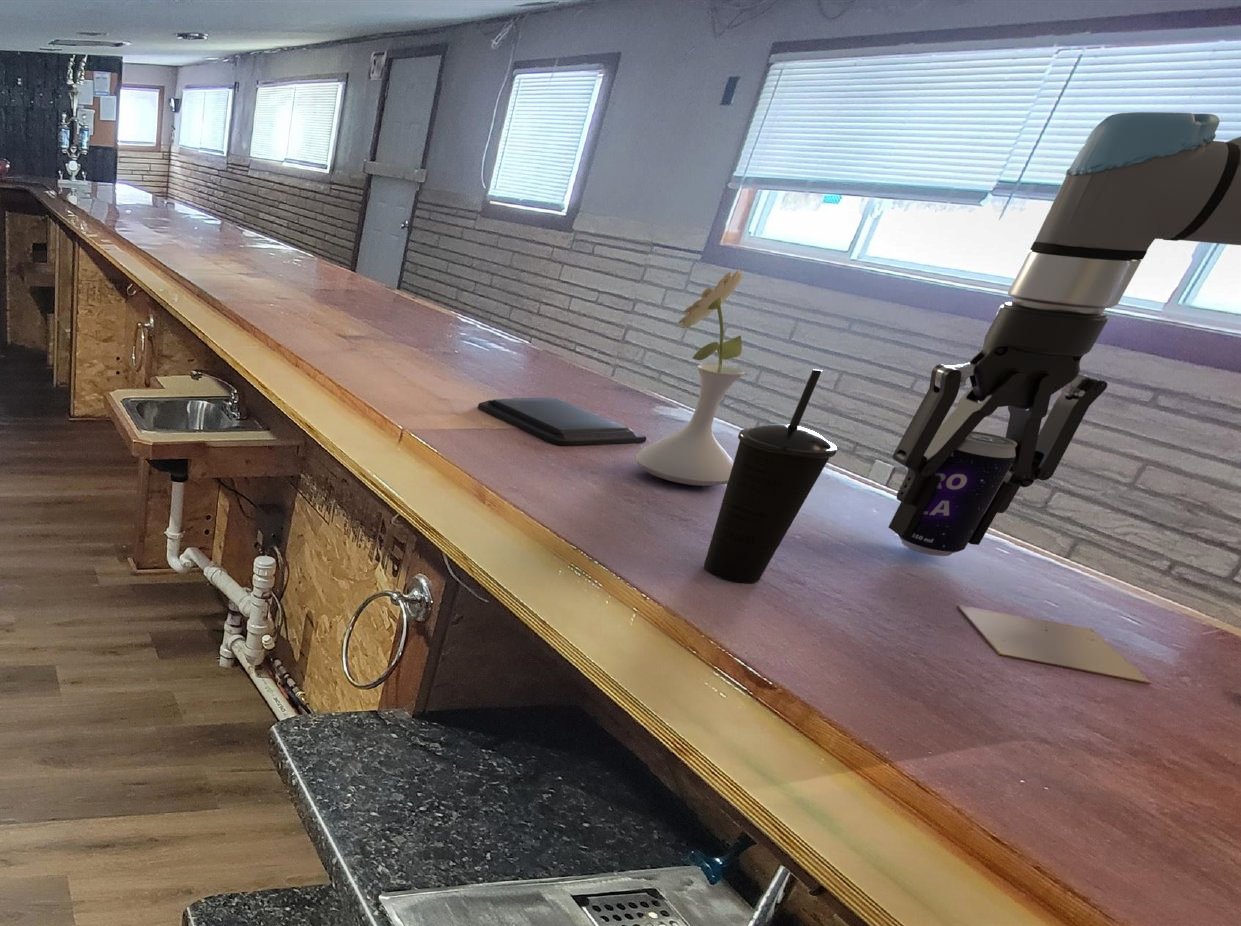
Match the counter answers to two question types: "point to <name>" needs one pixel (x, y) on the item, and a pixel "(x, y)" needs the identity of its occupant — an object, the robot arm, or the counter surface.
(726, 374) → the flower in vase
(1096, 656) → the cork pad
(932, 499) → the beverage can
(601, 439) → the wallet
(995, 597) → the counter surface
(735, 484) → the drinking cup
